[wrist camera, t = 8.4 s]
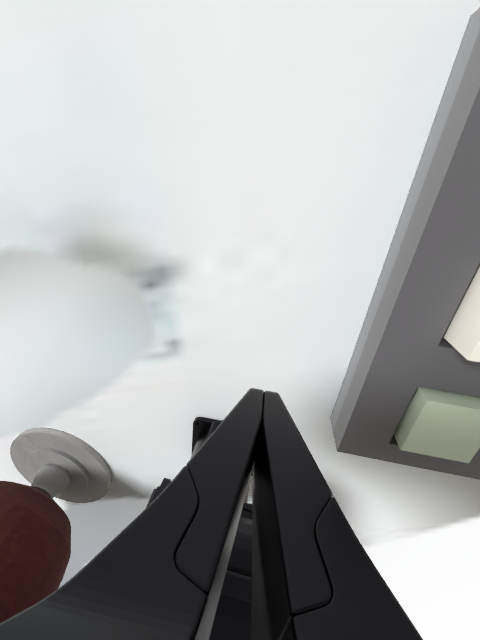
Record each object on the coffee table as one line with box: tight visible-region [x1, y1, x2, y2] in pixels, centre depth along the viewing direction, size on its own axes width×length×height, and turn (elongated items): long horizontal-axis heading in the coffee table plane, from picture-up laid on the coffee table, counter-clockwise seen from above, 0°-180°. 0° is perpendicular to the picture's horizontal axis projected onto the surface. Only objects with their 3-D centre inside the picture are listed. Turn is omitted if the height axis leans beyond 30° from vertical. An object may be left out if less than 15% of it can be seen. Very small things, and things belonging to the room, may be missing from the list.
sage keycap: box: [394, 387, 480, 463], centre depth 20 cm, size 5×5×2 cm
